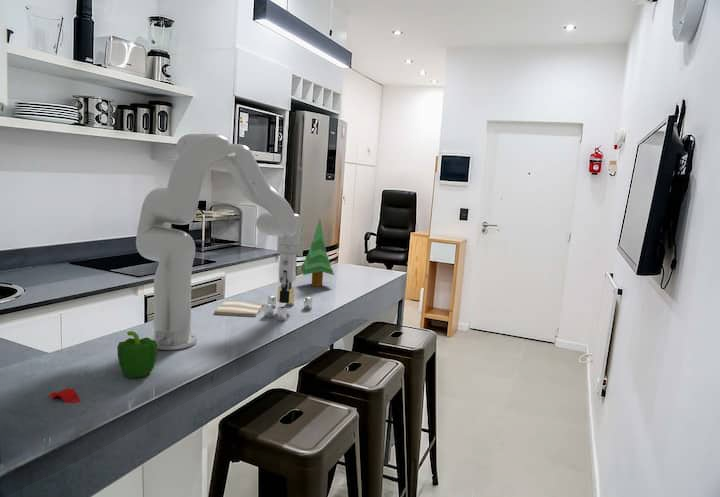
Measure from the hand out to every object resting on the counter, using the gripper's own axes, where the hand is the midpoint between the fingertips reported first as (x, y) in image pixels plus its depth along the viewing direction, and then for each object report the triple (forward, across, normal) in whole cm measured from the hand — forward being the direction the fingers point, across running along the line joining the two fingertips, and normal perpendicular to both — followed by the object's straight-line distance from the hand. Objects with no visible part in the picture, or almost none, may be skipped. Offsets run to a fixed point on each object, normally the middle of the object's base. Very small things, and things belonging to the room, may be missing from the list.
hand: (285, 300), depth 177 cm
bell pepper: (+6, -59, +26) cm, 65 cm away
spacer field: (+4, +1, 0) cm, 4 cm away
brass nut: (+1, 0, 0) cm, 1 cm away
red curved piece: (+7, -73, +35) cm, 81 cm away
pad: (+5, 0, +16) cm, 16 cm away
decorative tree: (+4, +46, -7) cm, 46 cm away
